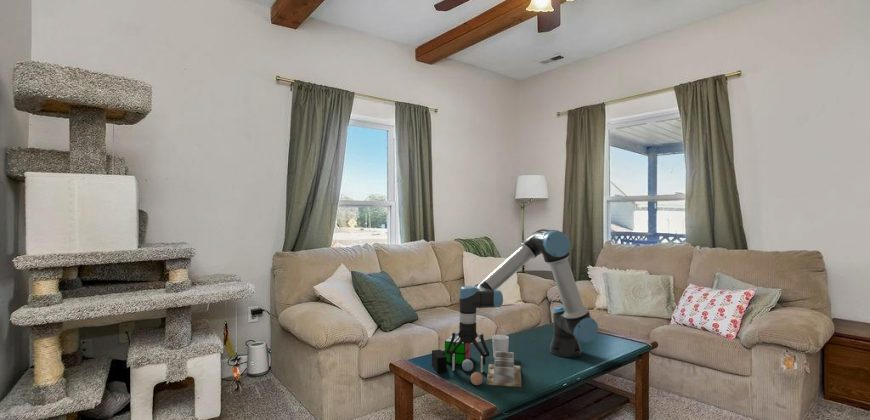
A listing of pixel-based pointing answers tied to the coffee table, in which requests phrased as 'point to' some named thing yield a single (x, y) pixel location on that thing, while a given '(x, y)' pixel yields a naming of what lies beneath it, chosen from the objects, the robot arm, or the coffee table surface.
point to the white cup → (500, 343)
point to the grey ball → (467, 365)
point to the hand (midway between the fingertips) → (467, 370)
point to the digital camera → (439, 361)
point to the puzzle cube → (458, 350)
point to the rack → (504, 371)
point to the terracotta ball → (476, 378)
